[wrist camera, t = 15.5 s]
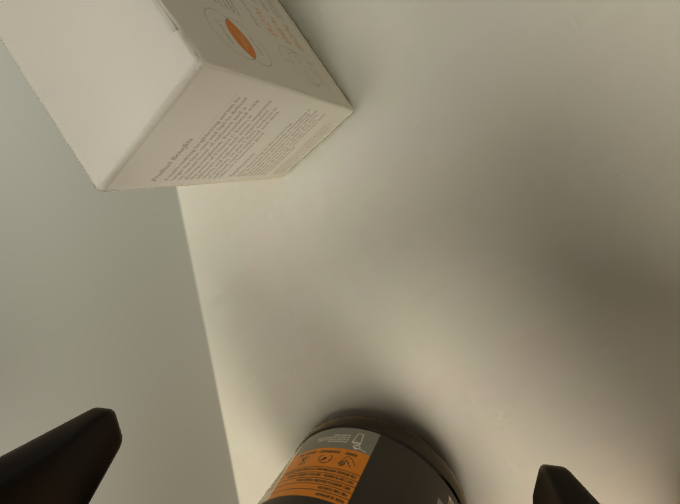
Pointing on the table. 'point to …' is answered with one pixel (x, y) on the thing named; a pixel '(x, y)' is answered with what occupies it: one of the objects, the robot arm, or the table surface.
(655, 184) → the table surface
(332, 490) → the supplement container
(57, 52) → the small box
